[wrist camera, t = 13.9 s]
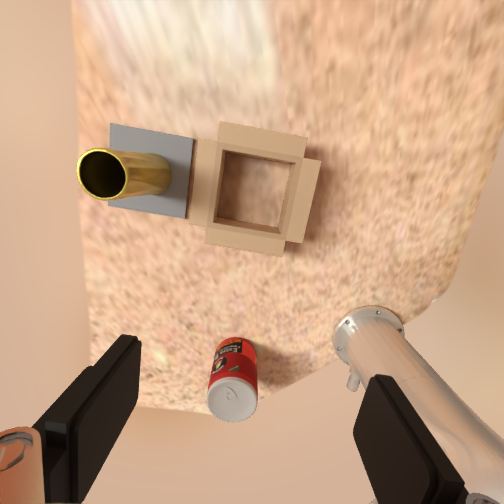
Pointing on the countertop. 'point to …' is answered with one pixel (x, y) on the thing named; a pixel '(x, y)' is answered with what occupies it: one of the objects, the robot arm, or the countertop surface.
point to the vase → (122, 174)
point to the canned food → (233, 381)
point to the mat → (176, 156)
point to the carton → (262, 147)
